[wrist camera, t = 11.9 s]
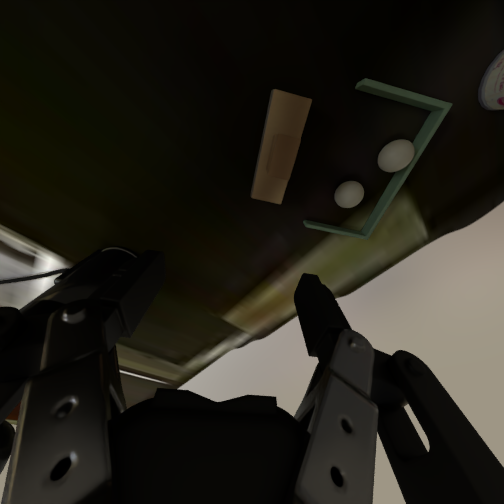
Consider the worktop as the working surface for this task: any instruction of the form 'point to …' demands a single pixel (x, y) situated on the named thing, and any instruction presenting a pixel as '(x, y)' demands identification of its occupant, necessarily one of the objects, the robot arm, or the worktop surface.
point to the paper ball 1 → (349, 194)
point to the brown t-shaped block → (279, 145)
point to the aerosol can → (493, 85)
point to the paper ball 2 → (396, 155)
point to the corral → (420, 142)
